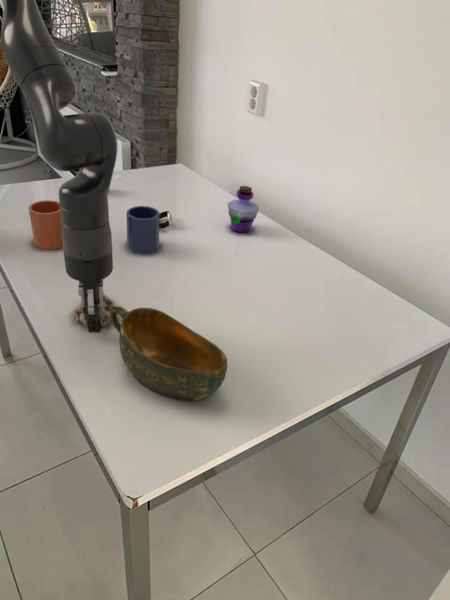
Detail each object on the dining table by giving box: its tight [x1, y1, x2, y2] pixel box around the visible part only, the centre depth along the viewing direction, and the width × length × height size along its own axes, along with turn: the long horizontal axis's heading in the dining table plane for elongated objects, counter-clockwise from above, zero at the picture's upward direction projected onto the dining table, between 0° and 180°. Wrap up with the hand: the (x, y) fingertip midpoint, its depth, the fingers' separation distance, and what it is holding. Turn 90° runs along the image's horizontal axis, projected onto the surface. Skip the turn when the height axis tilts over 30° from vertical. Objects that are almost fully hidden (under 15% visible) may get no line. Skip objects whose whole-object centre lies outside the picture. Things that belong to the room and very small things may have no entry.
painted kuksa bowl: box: [110, 305, 228, 402], centre depth 73 cm, size 13×20×10 cm, turn 33°
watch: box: [159, 210, 173, 230], centre depth 122 cm, size 8×5×4 cm, turn 179°
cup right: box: [125, 205, 160, 255], centre depth 109 cm, size 8×8×9 cm
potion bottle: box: [227, 185, 260, 234], centre depth 122 cm, size 9×9×12 cm
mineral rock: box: [73, 293, 115, 328], centre depth 87 cm, size 11×4×8 cm
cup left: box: [28, 200, 63, 250], centre depth 106 cm, size 8×8×9 cm
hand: (94, 330), depth 82 cm, fingers closed
